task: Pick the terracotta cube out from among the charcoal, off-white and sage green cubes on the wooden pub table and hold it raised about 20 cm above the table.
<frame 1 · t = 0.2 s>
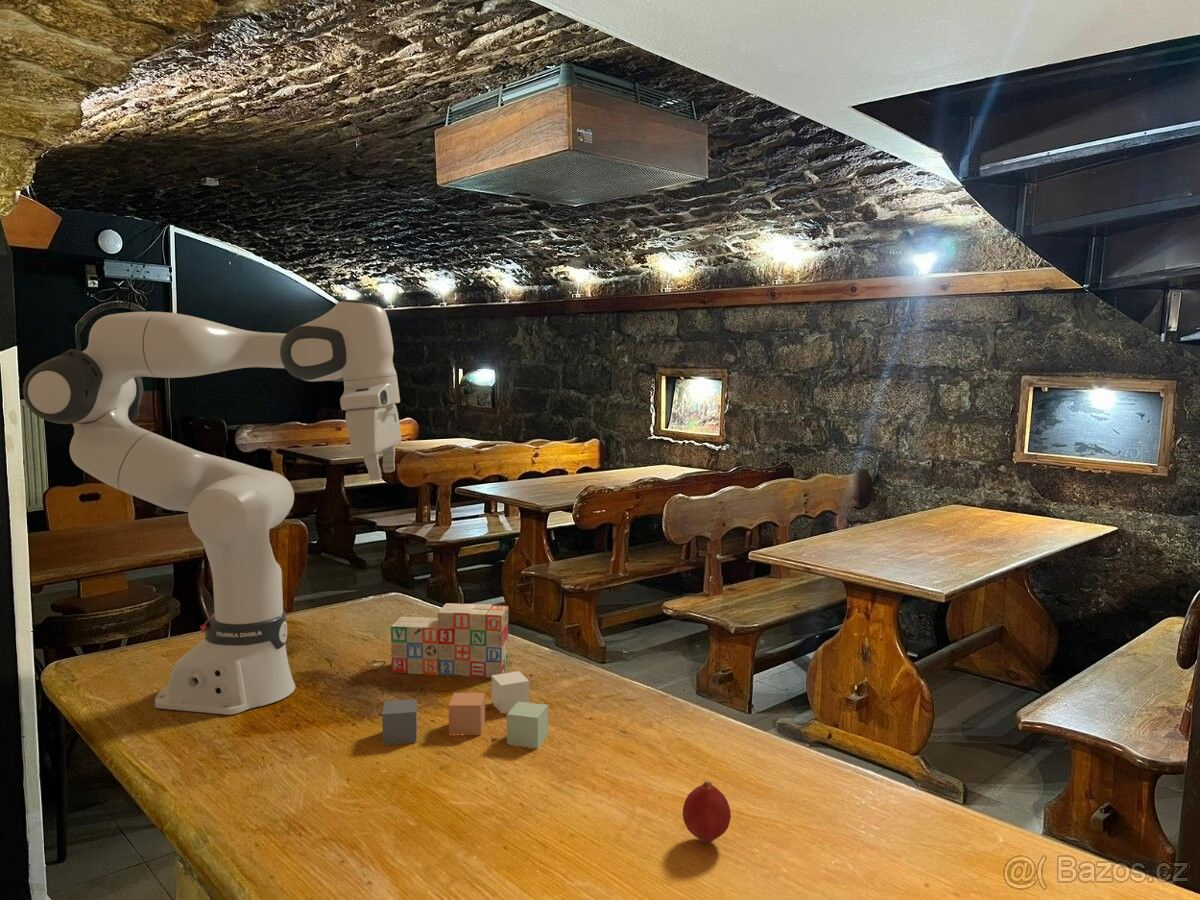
hand: (383, 475, 144), 39 cm above the table, tool pointing down, fingers open, 8 cm apart
stack of blocks: (450, 671, 160), on the table
off-white cube: (510, 706, 143), on the table
onion: (705, 843, 102), on the table
sage green cube: (527, 740, 130), on the table
charcoal cube: (400, 737, 131), on the table
terracotta cube: (467, 729, 134), on the table
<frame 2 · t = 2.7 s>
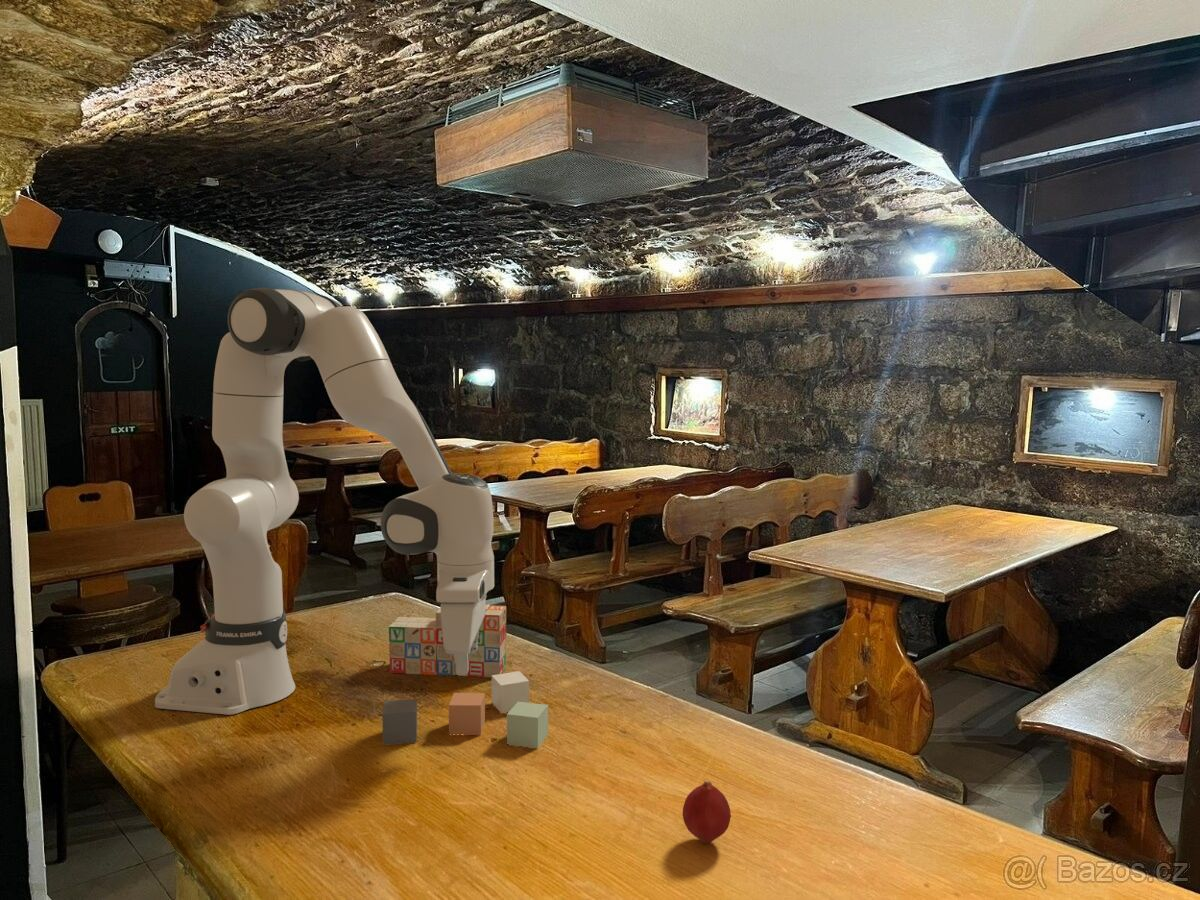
hand: (467, 662, 133), 11 cm above the table, tool pointing down, fingers open, 8 cm apart
nothing on the table moved.
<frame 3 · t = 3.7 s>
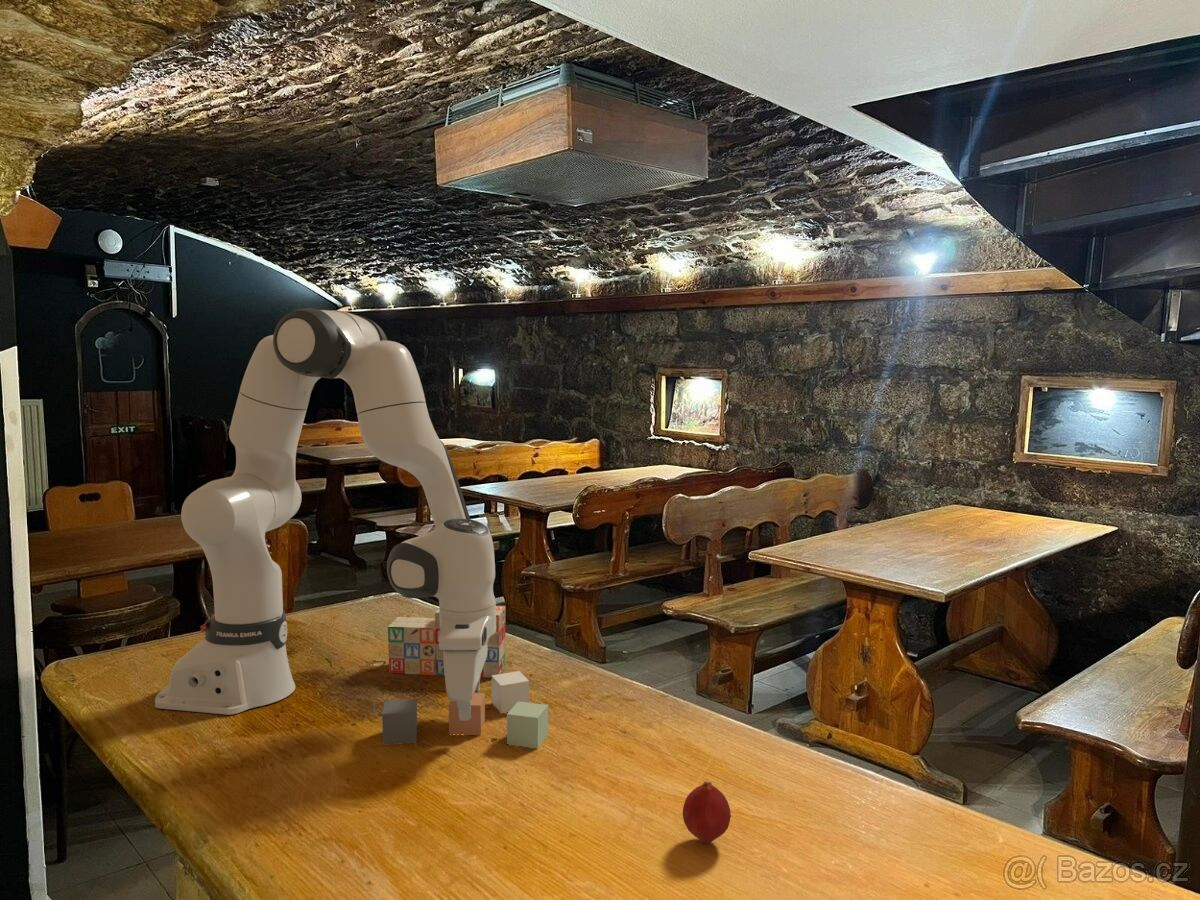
hand: (469, 706, 134), 4 cm above the table, tool pointing down, fingers open, 8 cm apart
nothing on the table moved.
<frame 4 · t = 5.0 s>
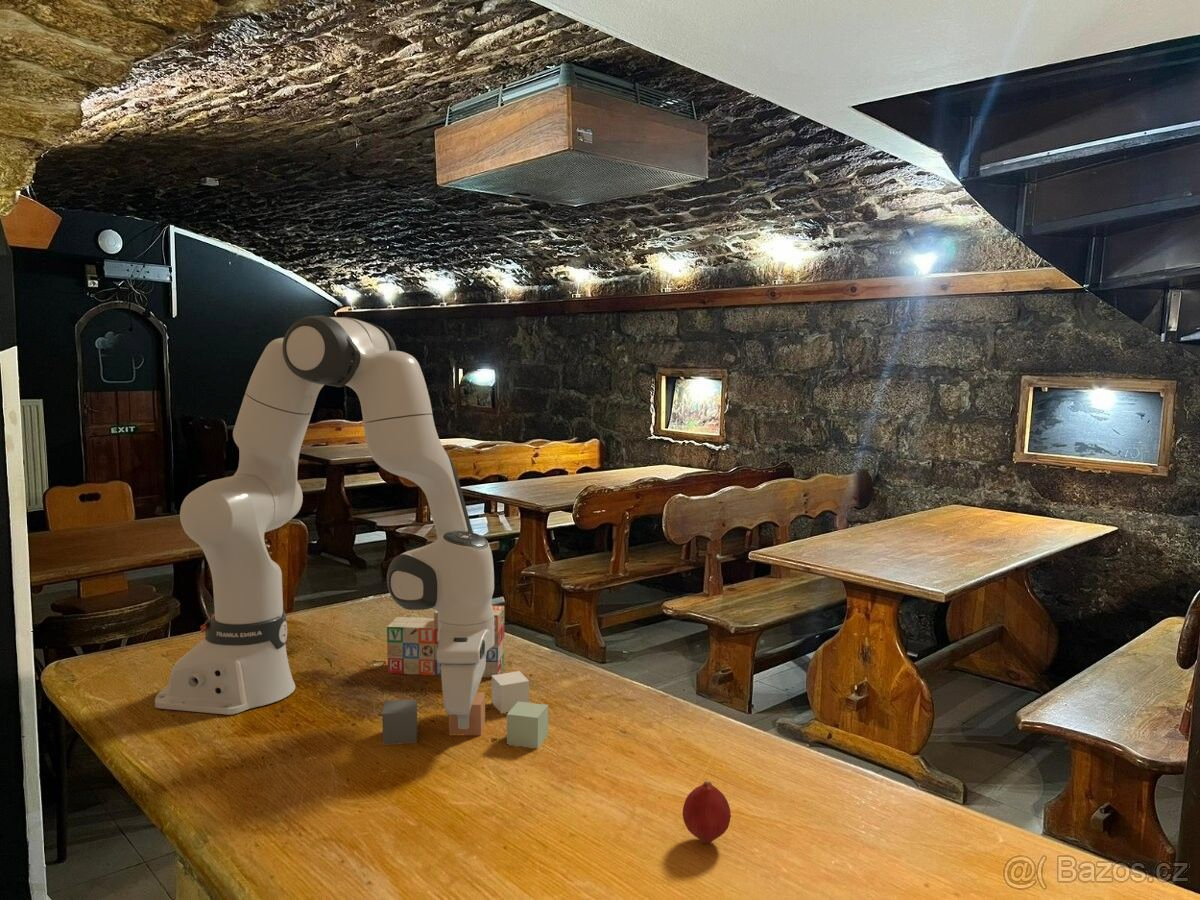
hand: (467, 718, 134), 2 cm above the table, tool pointing down, fingers closed on terracotta cube, 5 cm apart
terracotta cube: (467, 728, 134), on the table, touching gripper
everything else where it was.
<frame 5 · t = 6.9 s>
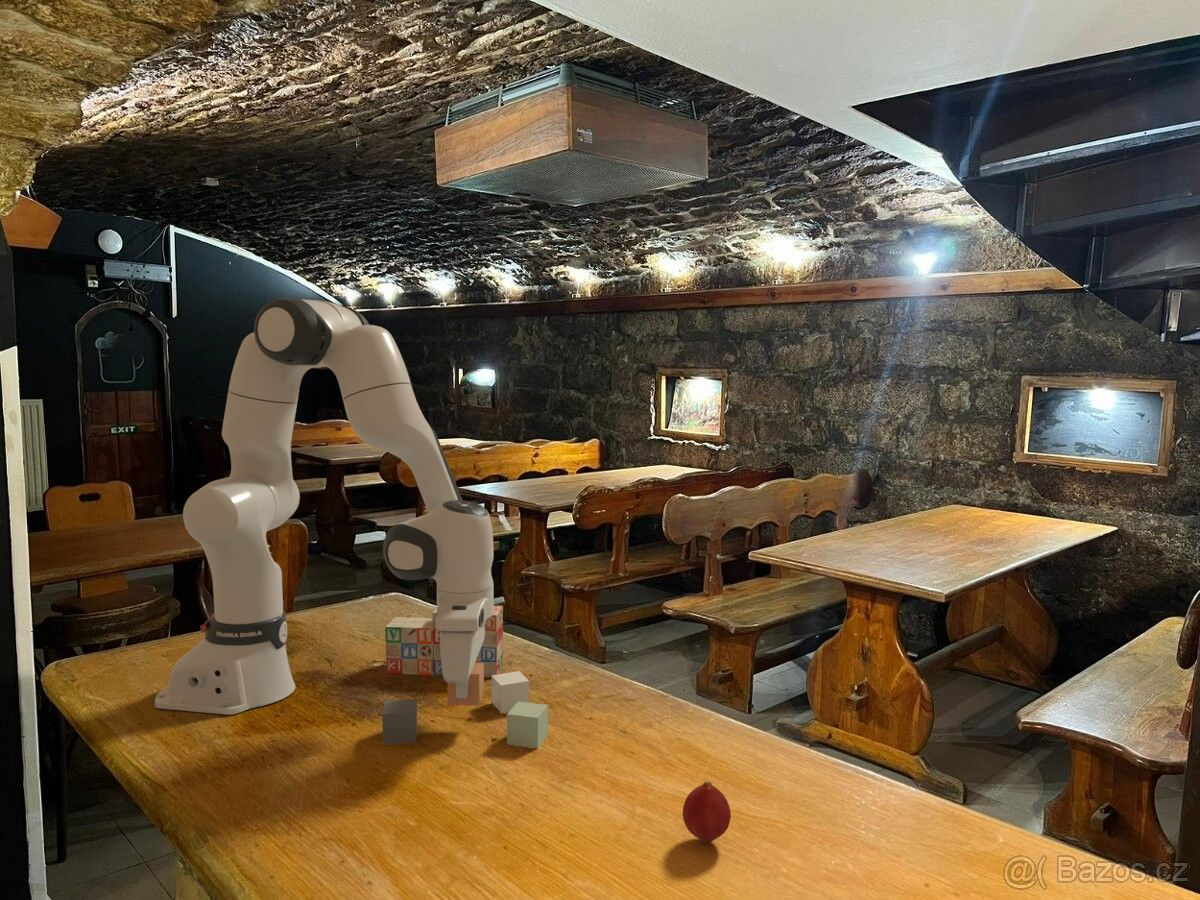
hand: (465, 688, 133), 7 cm above the table, tool pointing down, fingers closed on terracotta cube, 5 cm apart
terracotta cube: (465, 698, 133), point 5 cm above the table, touching gripper
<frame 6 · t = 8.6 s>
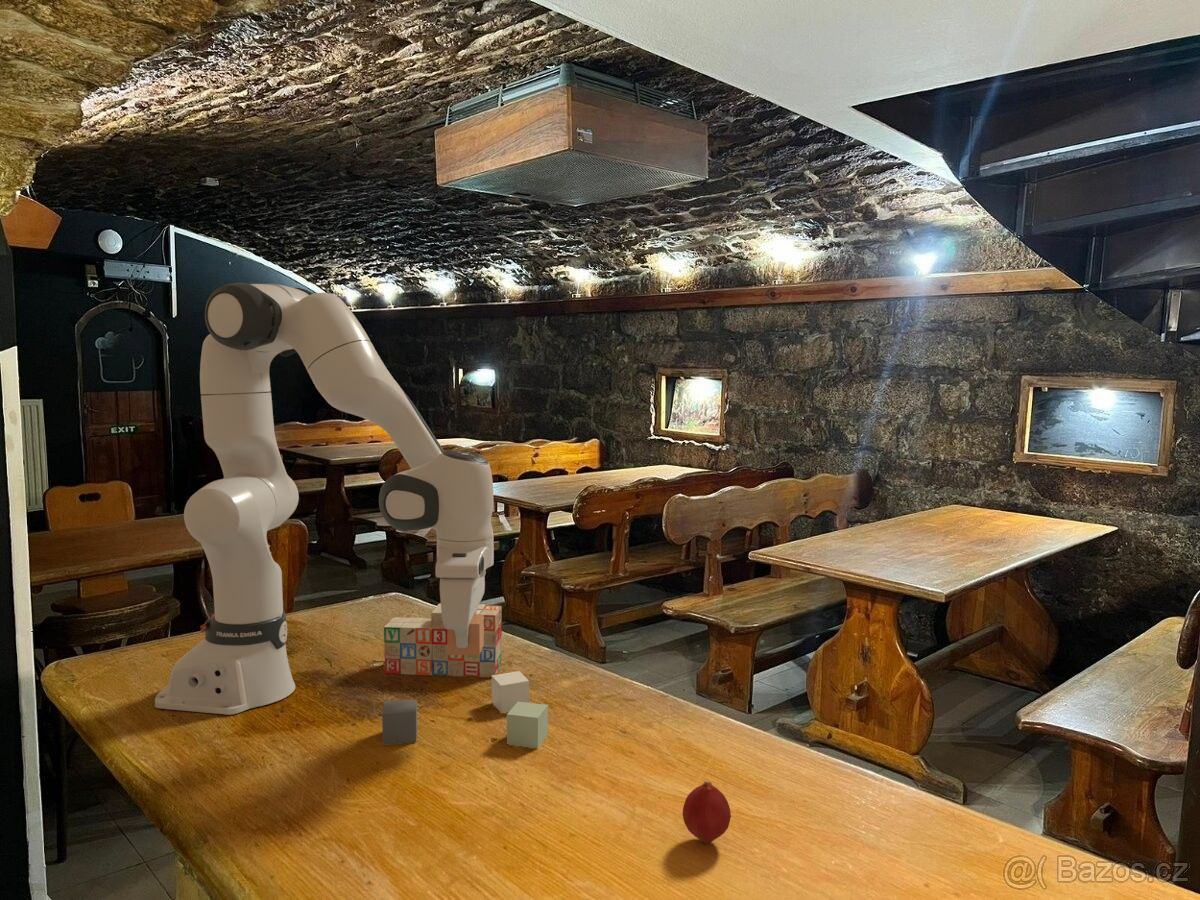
hand: (465, 639, 133), 15 cm above the table, tool pointing down, fingers closed on terracotta cube, 5 cm apart
terracotta cube: (465, 649, 133), point 13 cm above the table, touching gripper
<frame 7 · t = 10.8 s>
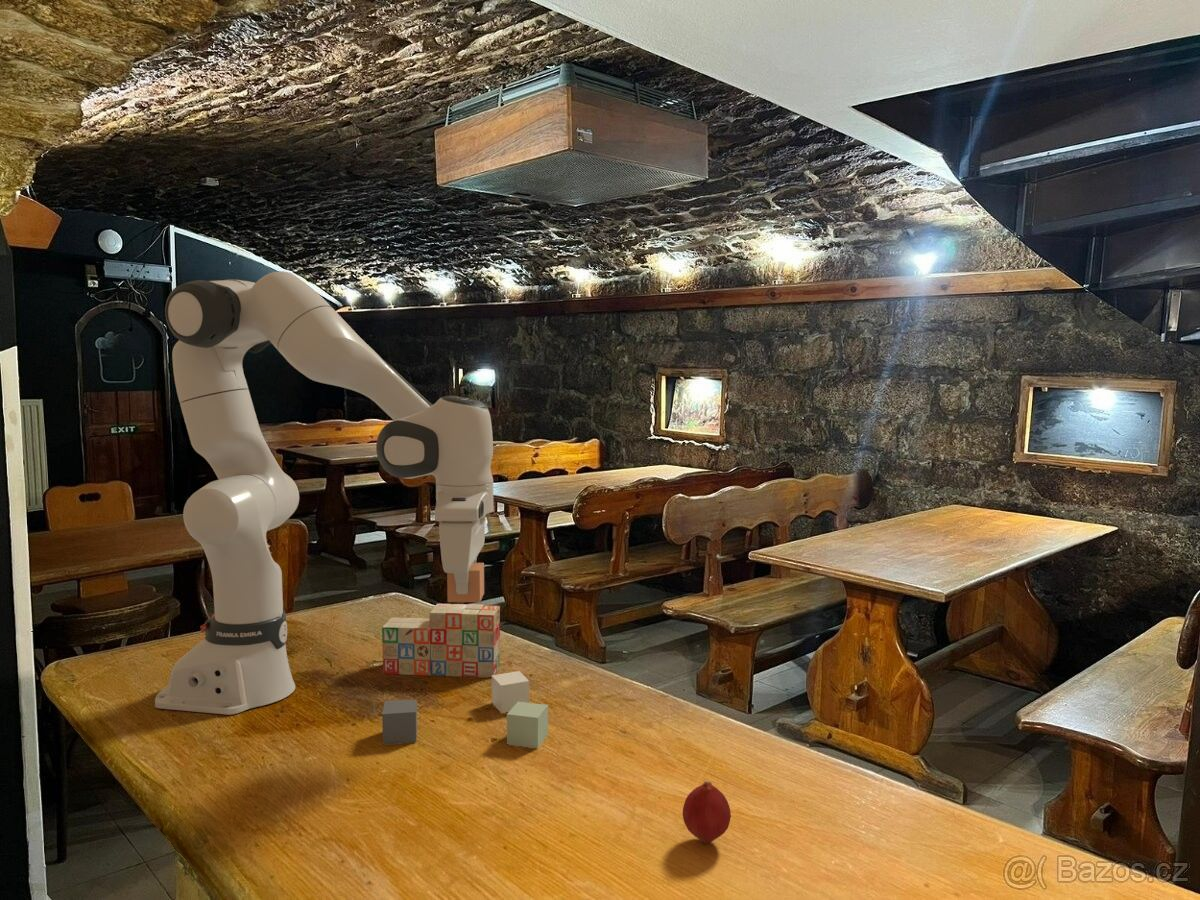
hand: (465, 587, 132), 23 cm above the table, tool pointing down, fingers closed on terracotta cube, 5 cm apart
terracotta cube: (466, 597, 132), point 21 cm above the table, touching gripper
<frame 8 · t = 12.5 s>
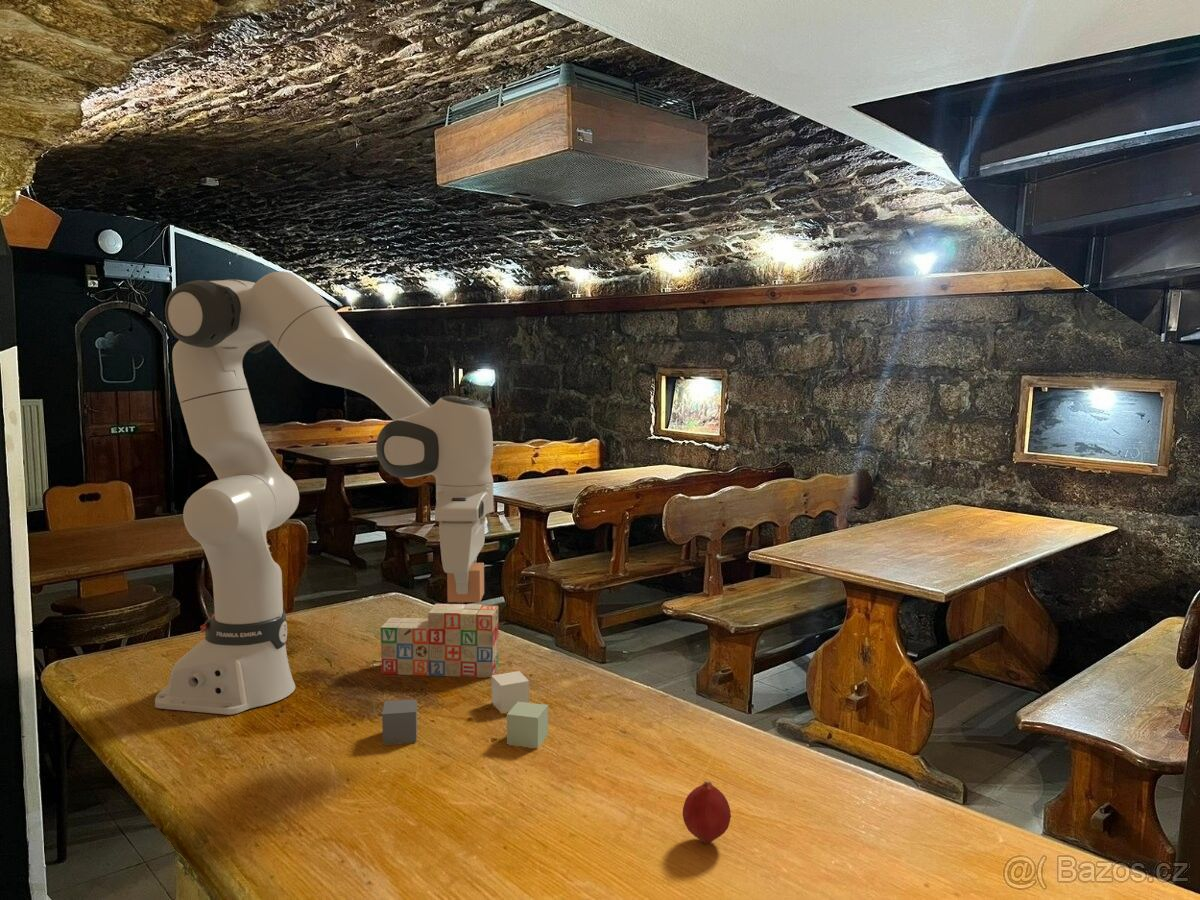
hand: (465, 587, 132), 23 cm above the table, tool pointing down, fingers closed on terracotta cube, 5 cm apart
terracotta cube: (466, 597, 132), point 21 cm above the table, touching gripper
at the end: the gripper is holding terracotta cube; terracotta cube point 21.4 cm above the table; off-white cube moved 0.1 cm from its start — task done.
